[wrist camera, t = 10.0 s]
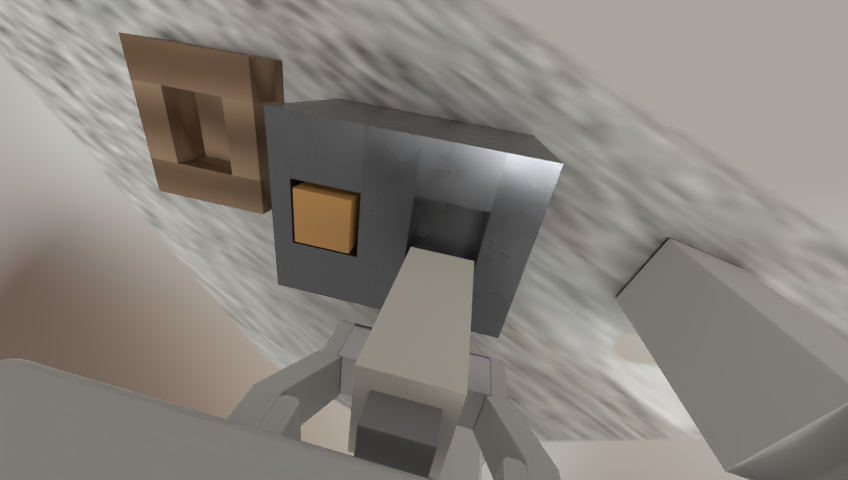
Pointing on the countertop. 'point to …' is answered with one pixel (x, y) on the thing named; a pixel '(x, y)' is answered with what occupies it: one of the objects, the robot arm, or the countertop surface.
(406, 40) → the countertop surface
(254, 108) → the block
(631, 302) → the milk carton
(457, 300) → the plug
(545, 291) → the countertop surface
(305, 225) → the release button
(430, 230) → the block
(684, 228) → the countertop surface
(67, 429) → the robot arm
